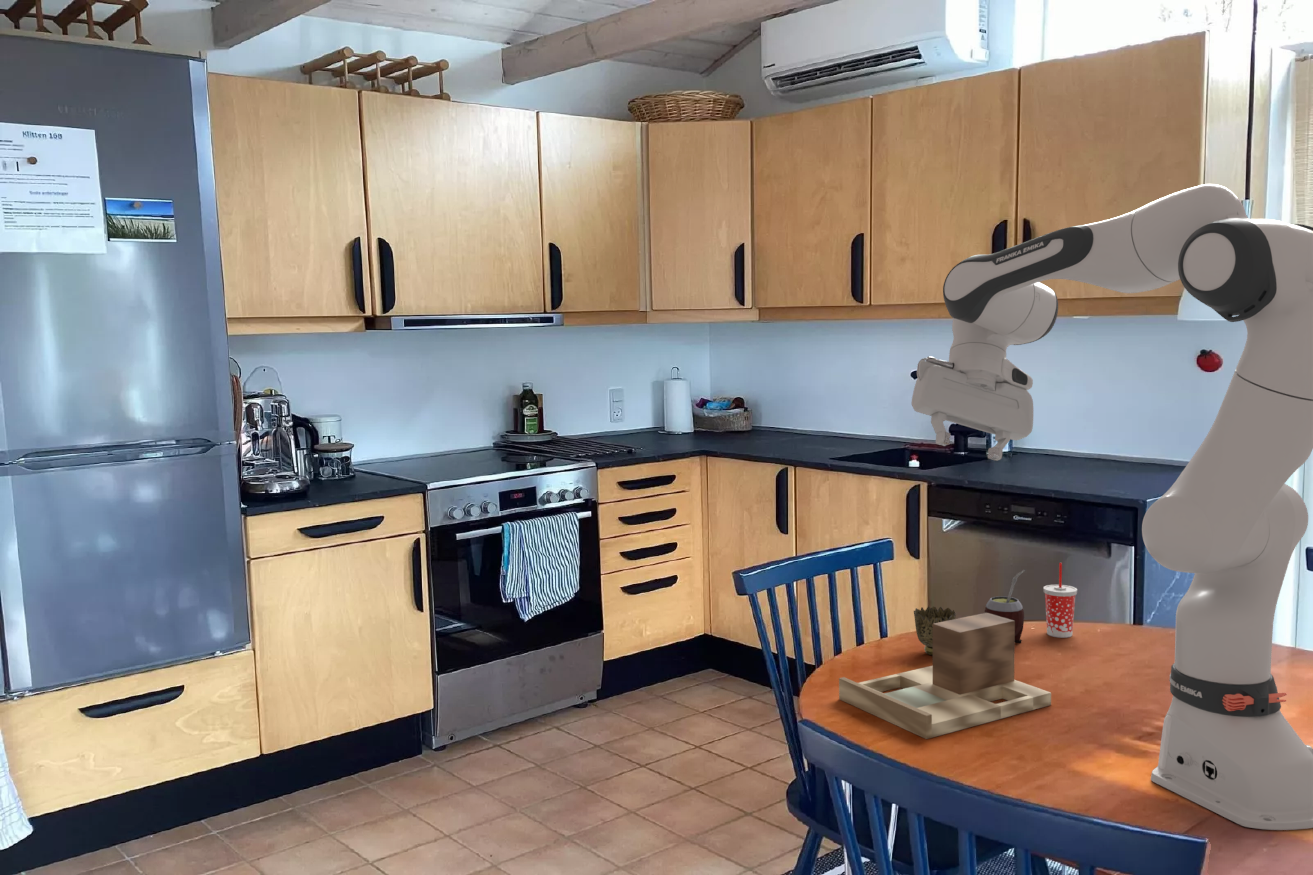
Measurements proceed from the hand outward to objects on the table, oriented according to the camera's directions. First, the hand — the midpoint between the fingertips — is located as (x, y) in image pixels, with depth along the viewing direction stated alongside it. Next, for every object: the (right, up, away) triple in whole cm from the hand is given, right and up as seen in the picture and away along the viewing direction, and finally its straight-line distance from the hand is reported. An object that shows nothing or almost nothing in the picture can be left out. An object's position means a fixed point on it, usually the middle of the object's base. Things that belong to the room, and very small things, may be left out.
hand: (968, 451), depth 167 cm
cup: (+2, -37, +28) cm, 47 cm away
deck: (-3, -40, +3) cm, 40 cm away
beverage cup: (+29, -36, +38) cm, 59 cm away
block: (+2, -37, +5) cm, 38 cm away
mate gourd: (+17, -36, +34) cm, 53 cm away
